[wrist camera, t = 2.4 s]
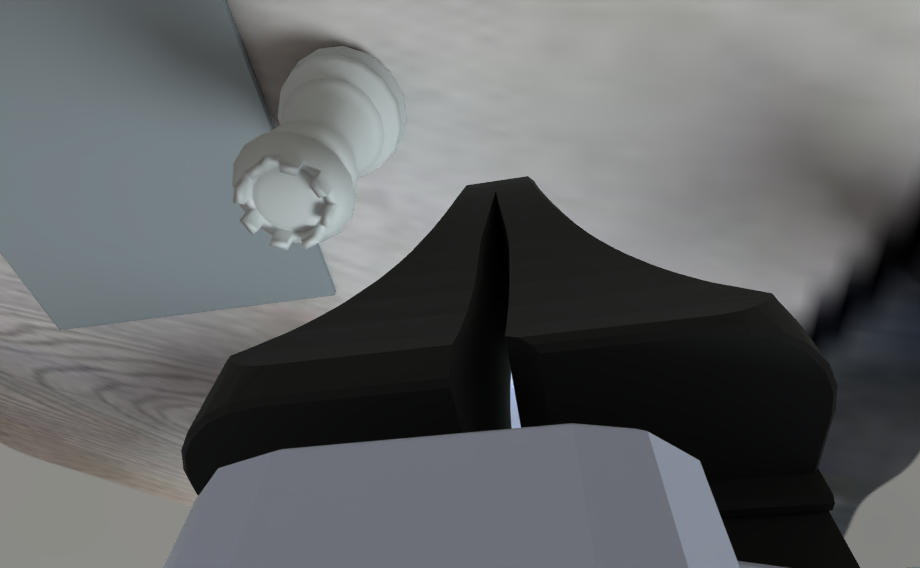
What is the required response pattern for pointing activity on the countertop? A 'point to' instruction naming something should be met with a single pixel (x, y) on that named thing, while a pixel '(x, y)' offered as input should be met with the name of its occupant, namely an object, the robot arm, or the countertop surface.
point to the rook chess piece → (319, 147)
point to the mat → (134, 163)
